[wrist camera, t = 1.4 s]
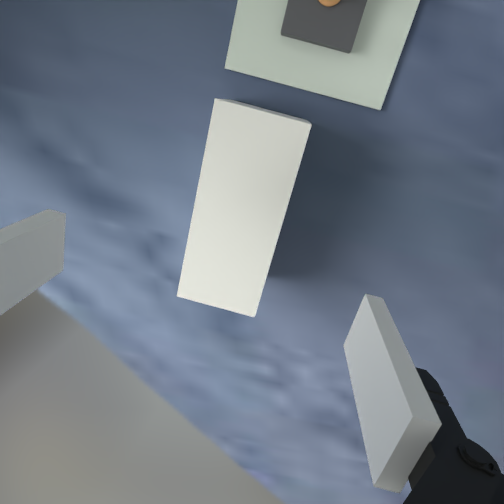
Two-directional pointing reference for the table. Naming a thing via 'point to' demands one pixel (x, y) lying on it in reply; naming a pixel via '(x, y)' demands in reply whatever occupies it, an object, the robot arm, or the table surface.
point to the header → (322, 44)
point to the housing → (240, 204)
